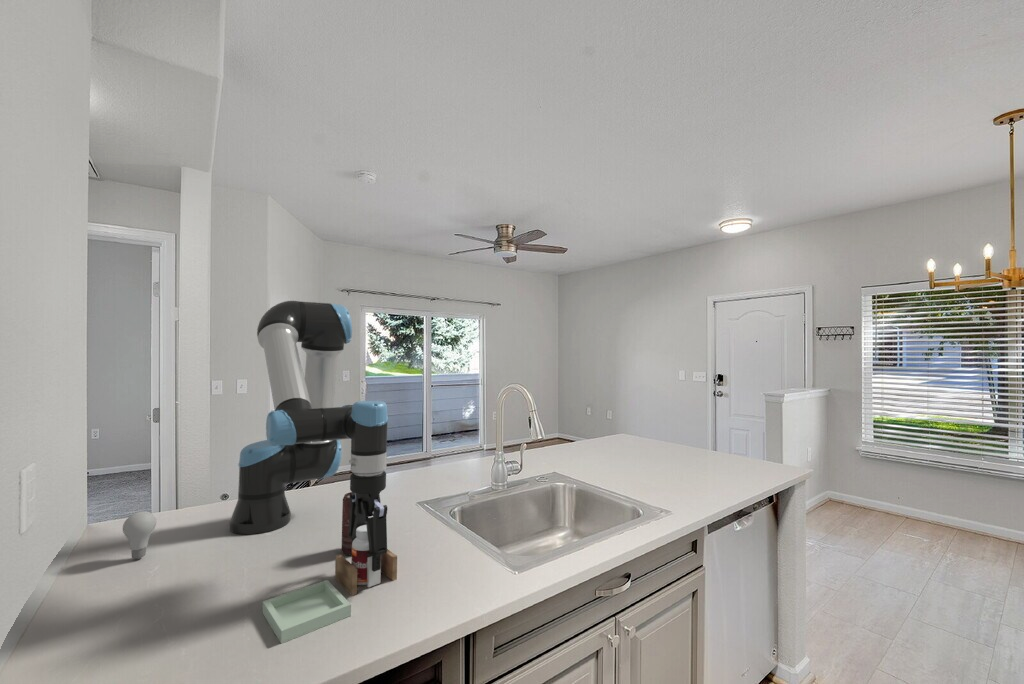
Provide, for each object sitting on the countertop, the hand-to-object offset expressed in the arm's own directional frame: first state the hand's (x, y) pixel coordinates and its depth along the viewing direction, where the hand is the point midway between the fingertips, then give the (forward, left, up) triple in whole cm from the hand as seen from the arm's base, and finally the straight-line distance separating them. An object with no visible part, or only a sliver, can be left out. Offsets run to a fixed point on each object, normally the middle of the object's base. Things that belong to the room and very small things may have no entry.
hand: (366, 577), depth 96 cm
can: (-15, +4, 0) cm, 16 cm away
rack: (0, 0, 0) cm, 0 cm away
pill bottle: (0, 0, 0) cm, 0 cm away
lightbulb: (-44, -36, 0) cm, 57 cm away
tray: (+5, -14, 0) cm, 15 cm away
